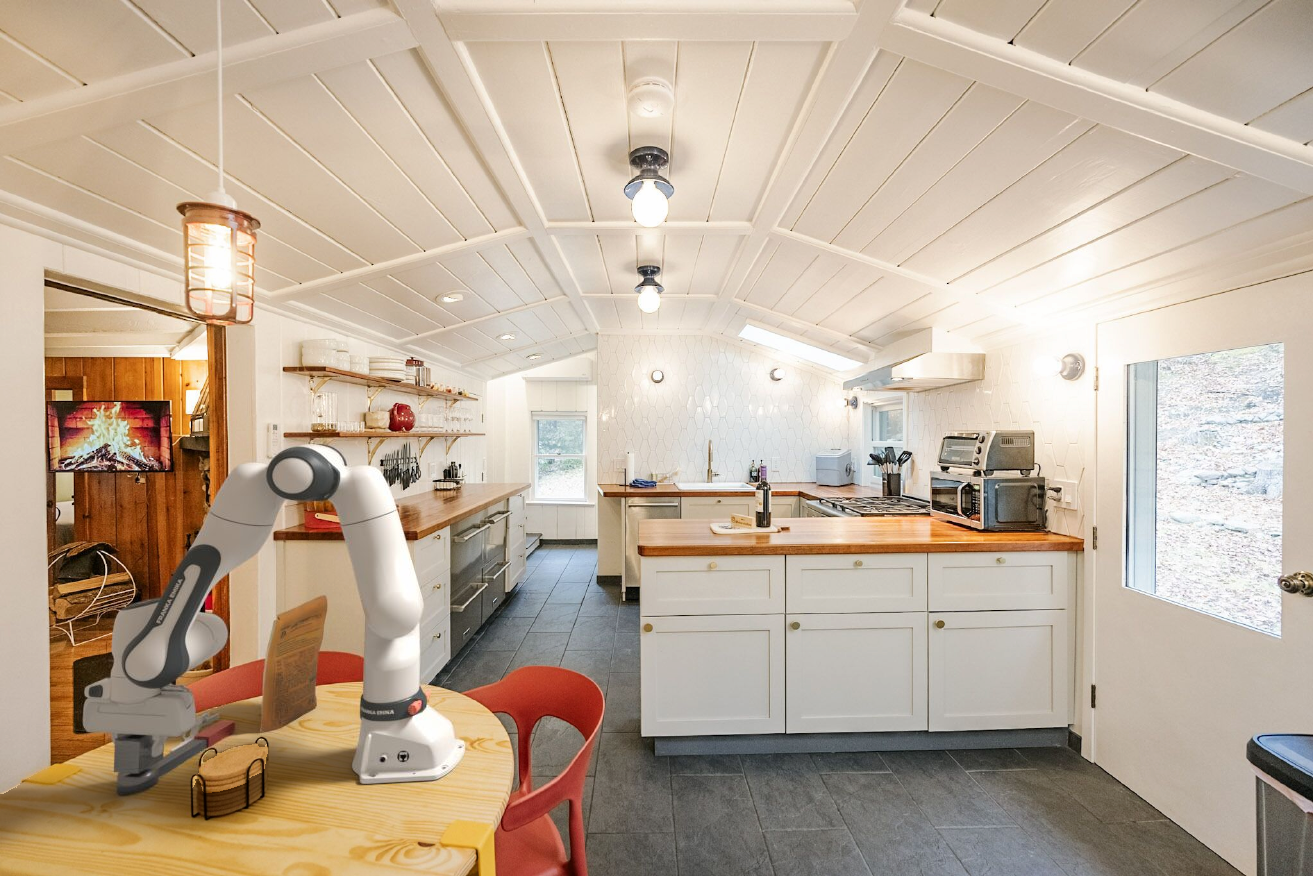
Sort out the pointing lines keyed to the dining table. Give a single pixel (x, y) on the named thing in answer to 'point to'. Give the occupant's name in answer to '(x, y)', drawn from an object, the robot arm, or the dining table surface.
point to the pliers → (198, 727)
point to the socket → (134, 753)
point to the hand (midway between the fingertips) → (139, 754)
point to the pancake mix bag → (292, 664)
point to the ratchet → (173, 759)
